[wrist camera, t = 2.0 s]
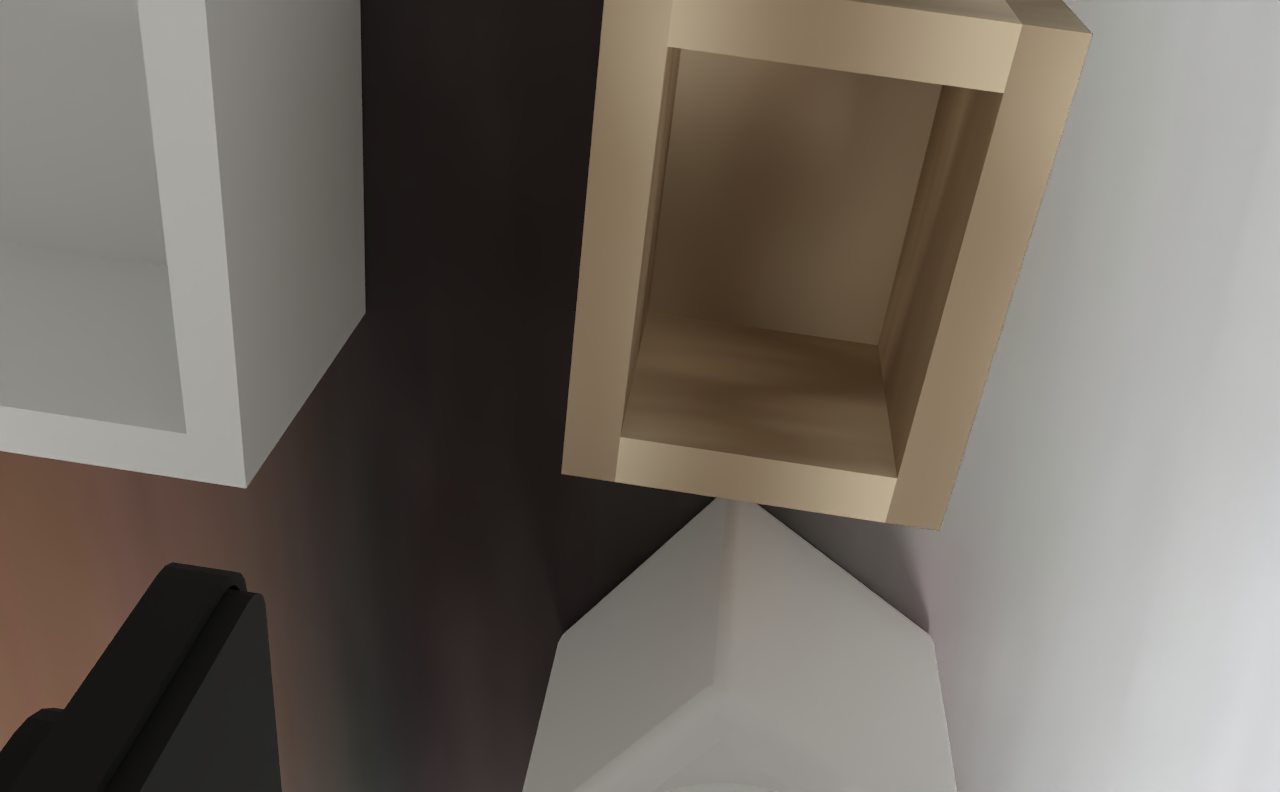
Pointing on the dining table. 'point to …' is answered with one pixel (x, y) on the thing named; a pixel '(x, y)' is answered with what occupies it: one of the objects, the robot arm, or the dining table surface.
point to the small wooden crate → (808, 242)
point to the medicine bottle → (742, 676)
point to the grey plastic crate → (175, 226)
